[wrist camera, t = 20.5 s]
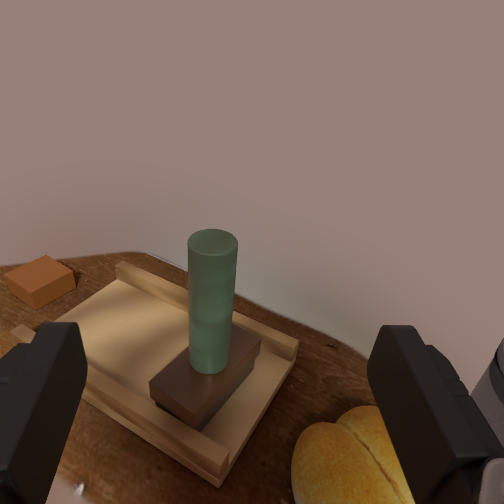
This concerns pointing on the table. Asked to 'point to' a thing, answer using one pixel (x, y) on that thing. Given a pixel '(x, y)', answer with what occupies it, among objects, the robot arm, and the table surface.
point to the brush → (207, 337)
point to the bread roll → (348, 462)
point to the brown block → (40, 281)
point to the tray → (160, 355)
